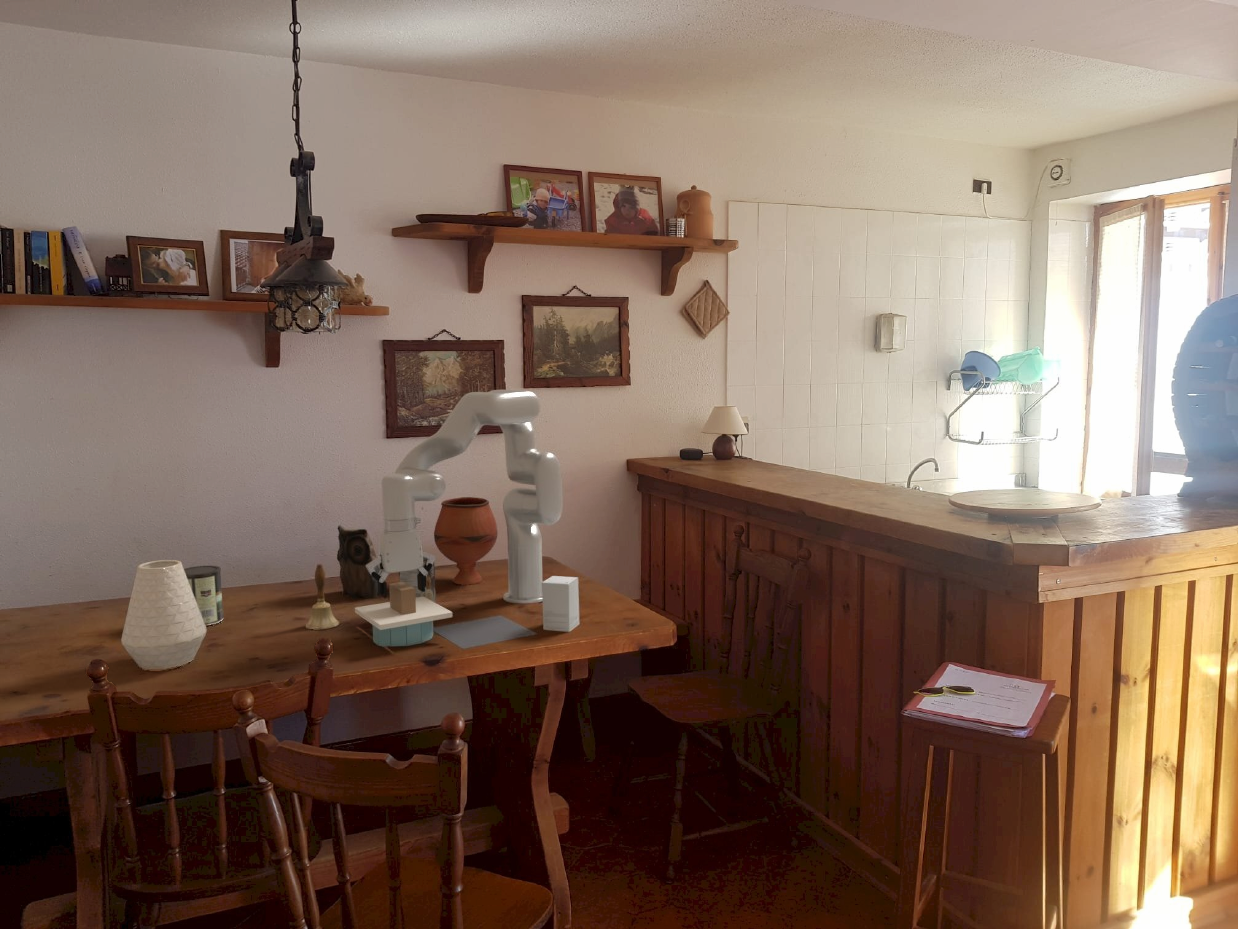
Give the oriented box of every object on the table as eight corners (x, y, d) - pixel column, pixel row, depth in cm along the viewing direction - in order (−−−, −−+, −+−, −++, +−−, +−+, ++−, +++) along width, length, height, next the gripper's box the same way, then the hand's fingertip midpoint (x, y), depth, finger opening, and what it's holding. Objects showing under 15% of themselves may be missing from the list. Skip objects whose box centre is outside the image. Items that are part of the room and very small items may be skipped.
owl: (376, 599, 268) (373, 530, 265) (331, 600, 267) (328, 531, 264) (384, 587, 280) (381, 521, 278) (341, 589, 279) (338, 522, 277)
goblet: (442, 592, 275) (439, 507, 271) (430, 577, 292) (427, 498, 289) (506, 585, 281) (504, 503, 278) (490, 571, 299) (488, 494, 296)
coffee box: (414, 612, 254) (412, 554, 252) (436, 613, 253) (435, 554, 251) (400, 622, 245) (397, 561, 243) (423, 623, 244) (421, 562, 242)
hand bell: (301, 624, 244) (298, 564, 242) (332, 619, 249) (329, 559, 247) (311, 632, 237) (308, 570, 235) (343, 626, 242) (341, 565, 240)
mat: (500, 616, 249) (500, 615, 249) (537, 635, 232) (537, 633, 232) (429, 629, 238) (429, 628, 238) (462, 650, 221) (462, 649, 221)
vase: (216, 666, 212) (209, 566, 209) (130, 682, 202) (122, 577, 199) (199, 646, 226) (193, 552, 224) (118, 660, 216) (110, 562, 214)
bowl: (419, 626, 241) (418, 604, 240) (441, 640, 229) (440, 616, 228) (366, 636, 233) (365, 612, 232) (386, 651, 221) (385, 626, 221)
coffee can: (204, 615, 253) (201, 563, 251) (232, 619, 249) (229, 567, 247) (171, 625, 244) (168, 572, 242) (200, 630, 239) (197, 576, 238)
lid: (423, 601, 243) (422, 573, 242) (452, 617, 228) (451, 588, 227) (354, 612, 233) (353, 583, 232) (380, 630, 218) (379, 599, 217)
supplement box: (580, 625, 241) (579, 577, 239) (569, 633, 234) (568, 584, 232) (553, 622, 243) (552, 575, 242) (542, 631, 236) (541, 581, 235)
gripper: (427, 518, 235) (430, 585, 238) (359, 527, 226) (363, 596, 228) (439, 523, 229) (442, 591, 232) (369, 532, 220) (373, 603, 222)
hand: (402, 593), depth 230 cm, fingers open, 9 cm apart
